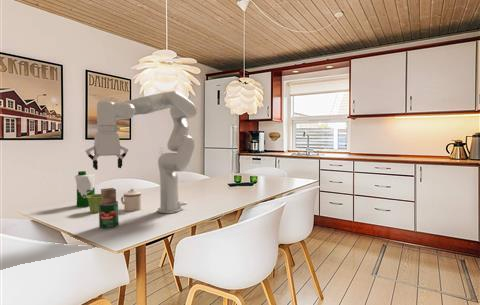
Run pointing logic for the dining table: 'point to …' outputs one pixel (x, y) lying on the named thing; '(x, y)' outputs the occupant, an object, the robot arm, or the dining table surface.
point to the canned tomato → (108, 216)
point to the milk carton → (84, 188)
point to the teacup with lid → (132, 200)
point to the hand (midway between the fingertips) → (108, 168)
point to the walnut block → (108, 196)
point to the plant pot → (94, 202)
